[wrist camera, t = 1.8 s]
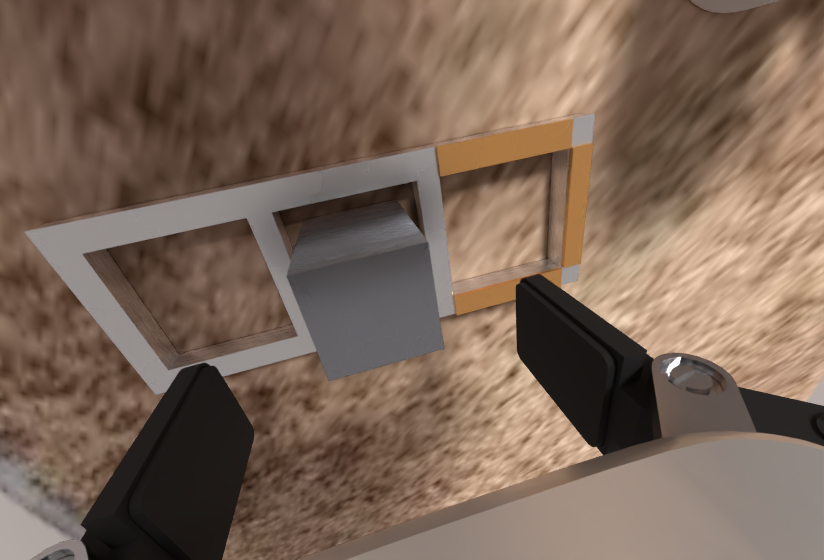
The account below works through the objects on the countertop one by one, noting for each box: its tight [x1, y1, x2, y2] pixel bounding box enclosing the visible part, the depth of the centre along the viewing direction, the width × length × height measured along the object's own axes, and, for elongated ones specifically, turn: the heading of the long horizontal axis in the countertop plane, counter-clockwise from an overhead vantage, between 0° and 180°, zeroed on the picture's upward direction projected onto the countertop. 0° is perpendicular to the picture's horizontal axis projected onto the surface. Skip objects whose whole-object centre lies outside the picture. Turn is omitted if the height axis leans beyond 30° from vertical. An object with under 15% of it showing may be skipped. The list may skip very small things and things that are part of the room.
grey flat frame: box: [24, 113, 595, 395], centre depth 15 cm, size 9×23×1 cm, turn 99°
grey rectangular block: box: [286, 199, 444, 381], centre depth 13 cm, size 4×4×6 cm
